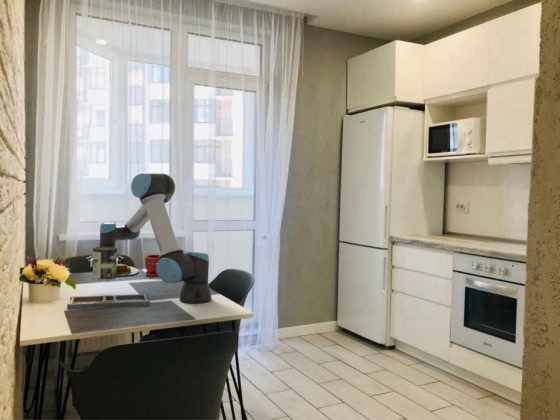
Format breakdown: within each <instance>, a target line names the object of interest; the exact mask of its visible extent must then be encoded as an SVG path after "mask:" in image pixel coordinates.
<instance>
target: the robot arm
mask: <svg viewBox="0 0 560 420" xmlns="http://www.w3.org/2000/svg"><path fill="white" fill-rule="evenodd" d="M130 190H131V194H132V195H133V196H134V197H136V198H139V201H140V204H141V206H140V207H139V208H138V209H137V211H135V212H134V214H133V215H132V216H131V218H130V219H129V220H128V221H127V222H126V223H125V225H117V224H116V223H115V222H102V223H101V224H100V226H99V247H114V248H116V242H118V241H131V240H137V239H138V238H139V237H140V235H141V229H142V228H143V227H144V226H145V225H146V224H147V223H148V222H150V225H151V227H152V231H153V234H154V237H155V241H156V243H157V247H158V250H159V254H158V255H159V257H158V259H159V261H158V263H156V264H157V267H156V271H157V274H158V277H159V279H160V280H161V281H162V282H164V283H165V284H178V283H180V282H183V283H182V284H183V285H182V287H181V291H180V294H179V301H180V302H181V303H186V304H204V303H210V302H211V301H212V293H211V290H210V289H211V288H210V285H209V270H210V268H209V266H210V260H209V258H210V257H209V254H208V253H205V252H197V251H184V249H183V248H180V246H179V245H178V242H177V239H176V235H175V231H174V230H173V229H174V228H173V225H172V223H171V220H170V216H169V213H168V210H167V208H166V204H167V203H168V202H169V201H170V200H171V199H172V197H173V196H174V194H175V191H176V184H175V180H174V179H173V178H172V177H171V176H170V175H169V174H166V173H156V172H154V173H153V172H147V171H146V172H139V173H137V174H135V175H134V177H133V178H132V181H131V184H130ZM125 263H126V259H125V257H123V256H122V255H121V254H120V255H117V258H116V267H118V264H123V265H125ZM84 264H85V265H88V266H89V267H90V268H93V254H92V255H90V256H87V257H85V258H84Z"/></svg>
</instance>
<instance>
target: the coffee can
mask: <svg viewBox="0 0 560 420" xmlns="http://www.w3.org/2000/svg"><path fill="white" fill-rule="evenodd" d="M117 251H118V248H117V247H115V248H114V247H100V246H99V247H98V246H96V247H93V248H92V255H93V266H92V281H97V282H107V281H108V282H109V281H114V280H116V279H117V276H116V258H117V256H118V255H117Z"/></svg>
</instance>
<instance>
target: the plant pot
mask: <svg viewBox="0 0 560 420" xmlns="http://www.w3.org/2000/svg"><path fill="white" fill-rule="evenodd" d="M159 255H160V254H147V255H145V256H144V266H145V270H146V271H145V275H146V276H149V277H154V278H155V277H159V276H158V274H157V271H156V267H157V263H158V261H159V259H158V257H159Z"/></svg>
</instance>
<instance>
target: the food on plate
mask: <svg viewBox="0 0 560 420" xmlns="http://www.w3.org/2000/svg"><path fill="white" fill-rule="evenodd" d="M138 272H139V269H138V268H136V267H134V266H129V265H127V264H122V263H121V264H118V267H116V277H123V276H131V275H135V274H137V273H138Z"/></svg>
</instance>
